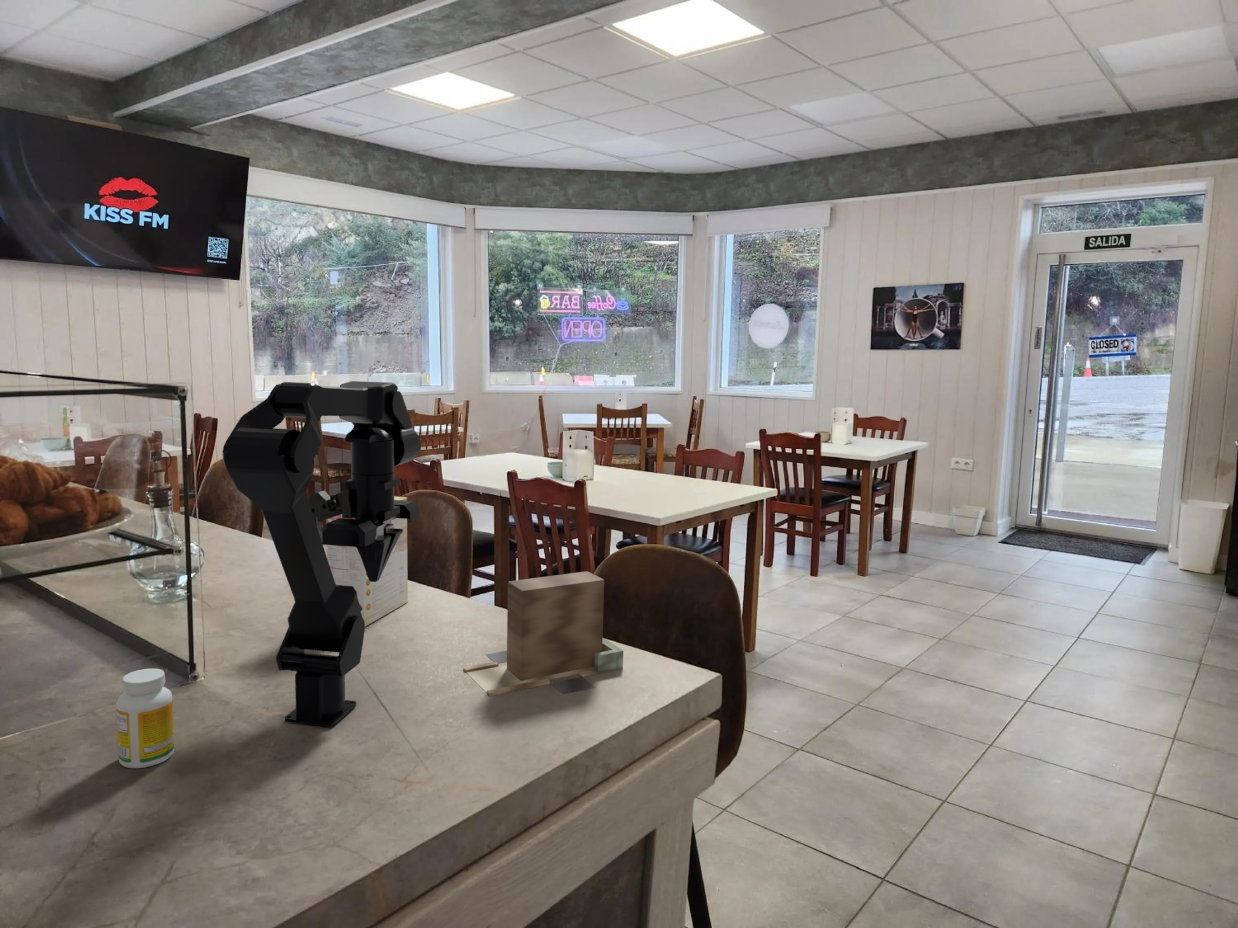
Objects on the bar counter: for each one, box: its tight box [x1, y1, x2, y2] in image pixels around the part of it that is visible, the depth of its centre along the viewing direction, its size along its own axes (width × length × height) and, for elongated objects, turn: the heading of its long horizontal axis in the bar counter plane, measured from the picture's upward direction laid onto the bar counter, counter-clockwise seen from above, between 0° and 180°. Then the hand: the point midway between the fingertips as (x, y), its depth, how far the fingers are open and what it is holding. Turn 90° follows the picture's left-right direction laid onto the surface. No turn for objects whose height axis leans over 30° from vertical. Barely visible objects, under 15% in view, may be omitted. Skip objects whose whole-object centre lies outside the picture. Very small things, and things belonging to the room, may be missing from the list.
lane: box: [462, 637, 624, 697], centre depth 117 cm, size 21×18×3 cm
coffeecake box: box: [325, 495, 409, 628], centre depth 139 cm, size 15×7×20 cm, turn 165°
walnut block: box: [506, 570, 605, 681], centre depth 118 cm, size 13×5×13 cm, turn 121°
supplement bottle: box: [115, 668, 175, 769], centre depth 89 cm, size 5×5×10 cm
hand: (374, 581), depth 115 cm, fingers closed
